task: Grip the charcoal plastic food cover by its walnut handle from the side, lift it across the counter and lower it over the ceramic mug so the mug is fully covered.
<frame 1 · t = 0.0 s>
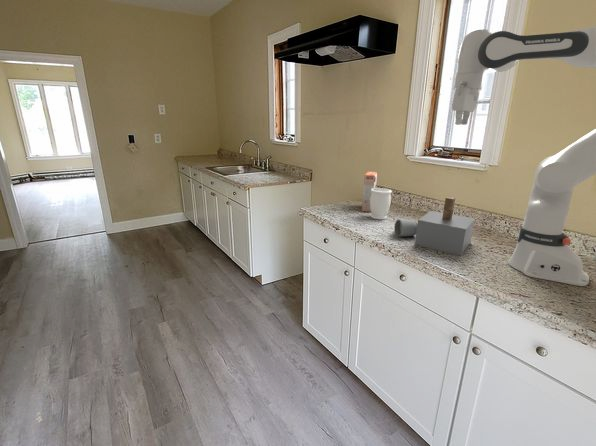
hand: (461, 124, 116), 48 cm above the worktop, tool pointing down, fingers open, 8 cm apart
cracker box: (368, 209, 186), on the worktop
jar: (378, 217, 170), on the worktop
ceramic mug: (403, 235, 144), on the worktop
food cover: (442, 243, 134), on the worktop
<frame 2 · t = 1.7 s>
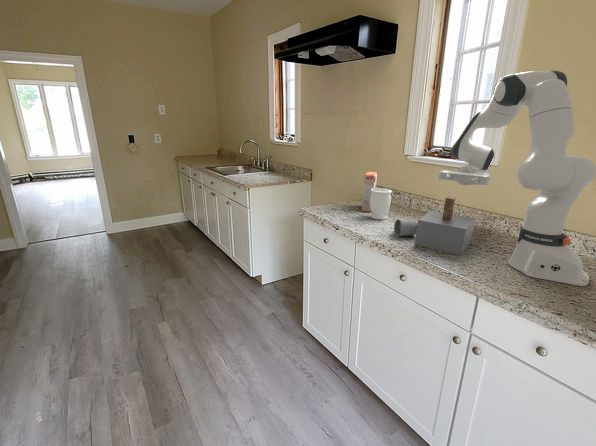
hand: (459, 179, 136), 26 cm above the worktop, tool horizontal, fingers open, 8 cm apart
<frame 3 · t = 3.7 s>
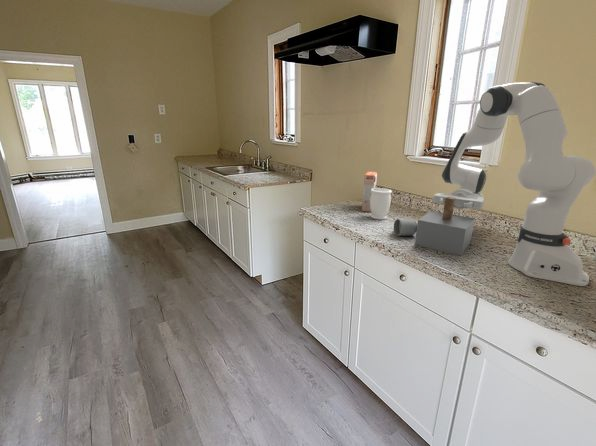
hand: (453, 204, 135), 16 cm above the worktop, tool horizontal, fingers open, 8 cm apart
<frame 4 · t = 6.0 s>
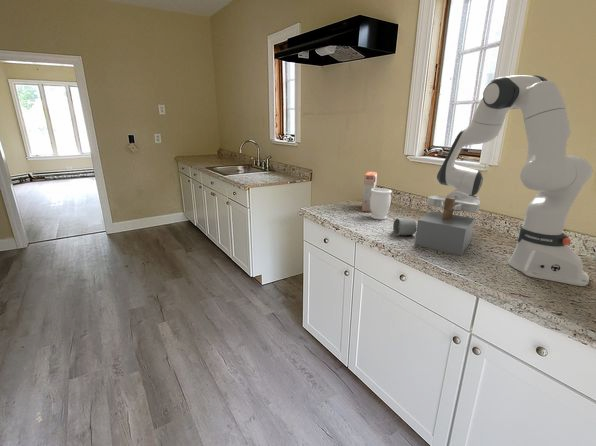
hand: (448, 207, 129), 16 cm above the worktop, tool horizontal, fingers closed on food cover, 3 cm apart
food cover: (442, 243, 134), on the worktop, touching gripper
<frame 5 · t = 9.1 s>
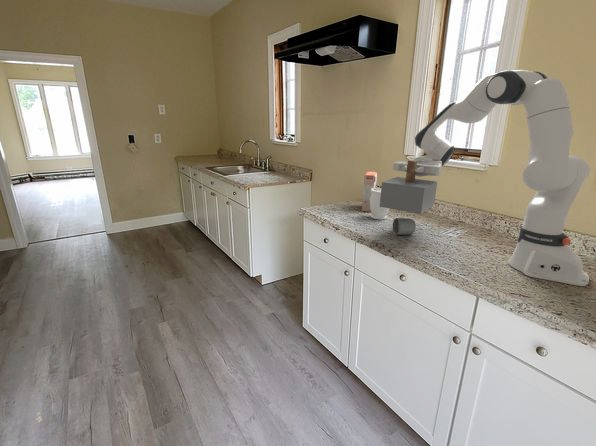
hand: (410, 169, 135), 29 cm above the worktop, tool horizontal, fingers closed on food cover, 3 cm apart
food cover: (406, 206, 140), point 13 cm above the worktop, touching gripper
when the fingers open (17 cm above the worktop, at t = 12.4 s): food cover drops 1 cm, on the worktop.
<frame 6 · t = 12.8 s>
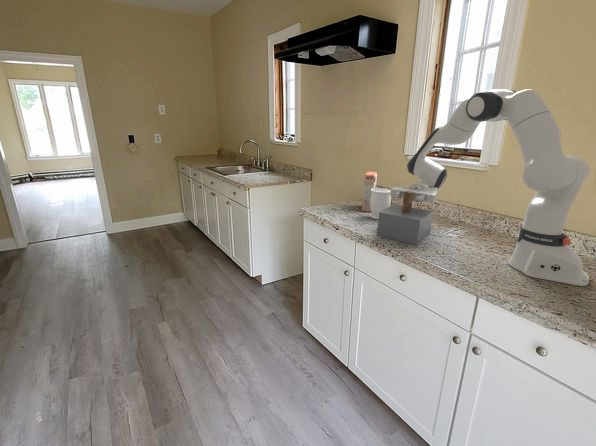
hand: (407, 197, 138), 17 cm above the worktop, tool horizontal, fingers open, 7 cm apart
food cover: (403, 234, 144), on the worktop
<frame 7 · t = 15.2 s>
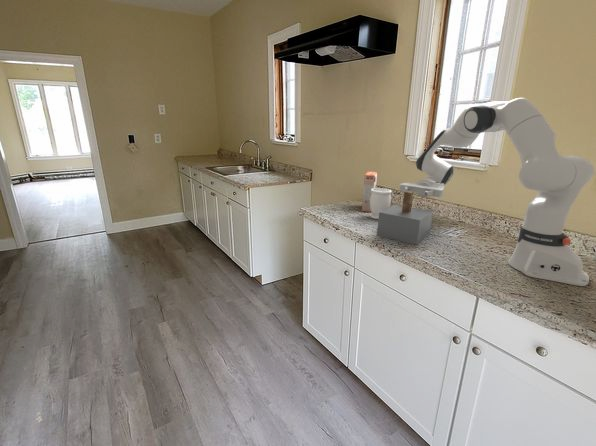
hand: (416, 192, 147), 18 cm above the worktop, tool horizontal, fingers open, 8 cm apart
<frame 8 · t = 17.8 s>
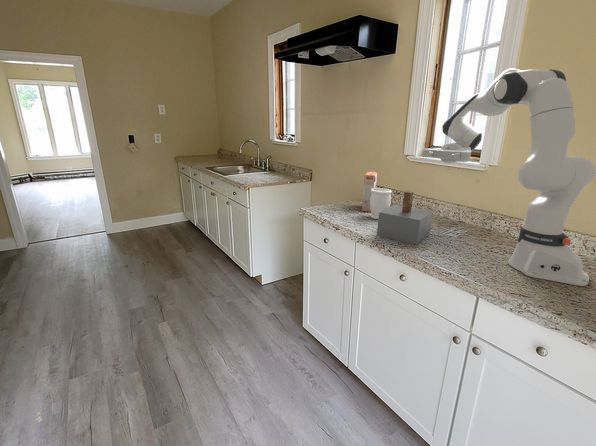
hand: (441, 155, 139), 35 cm above the worktop, tool horizontal, fingers open, 8 cm apart
at the end: food cover 4.2 cm from the ceramic mug (horizontally); food cover on the worktop; ceramic mug tilted 0° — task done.
